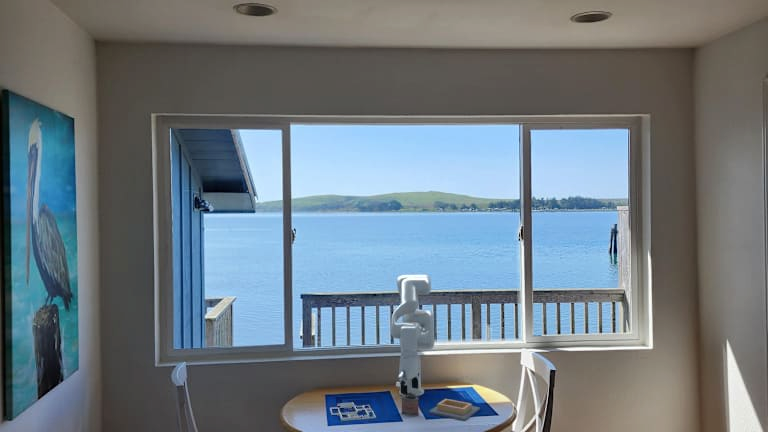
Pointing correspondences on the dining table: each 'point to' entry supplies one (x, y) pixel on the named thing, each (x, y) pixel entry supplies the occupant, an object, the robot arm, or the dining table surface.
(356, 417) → the floor plan model
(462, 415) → the tan recessed tray
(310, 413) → the dining table surface
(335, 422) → the dining table surface
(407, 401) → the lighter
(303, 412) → the dining table surface
